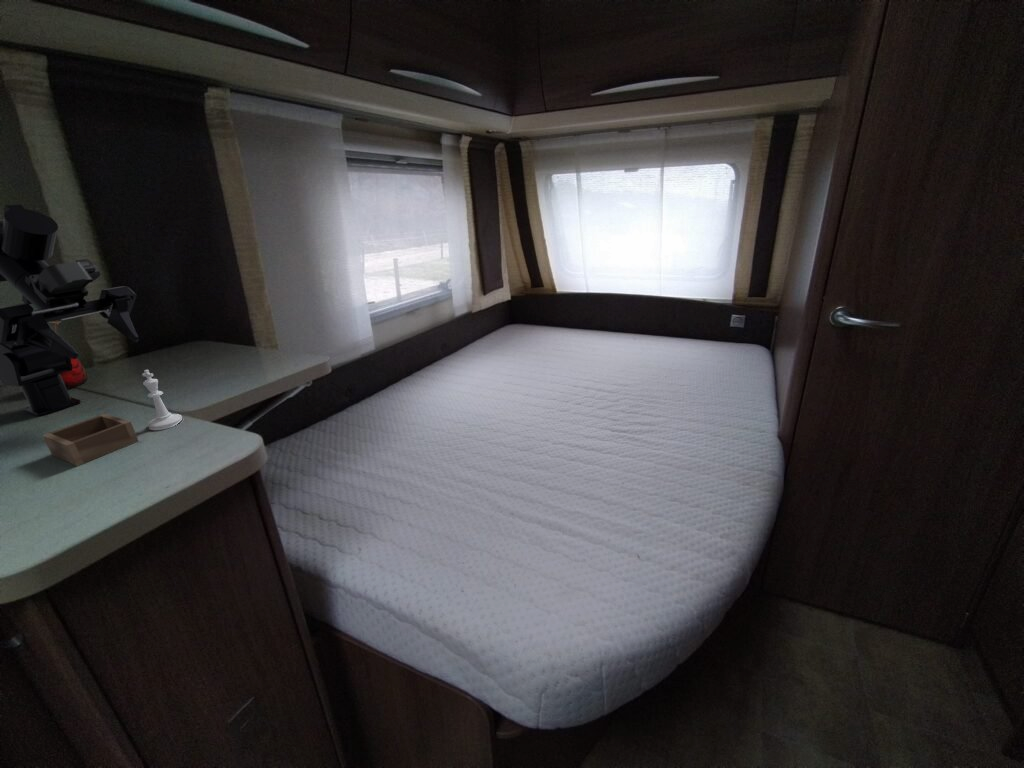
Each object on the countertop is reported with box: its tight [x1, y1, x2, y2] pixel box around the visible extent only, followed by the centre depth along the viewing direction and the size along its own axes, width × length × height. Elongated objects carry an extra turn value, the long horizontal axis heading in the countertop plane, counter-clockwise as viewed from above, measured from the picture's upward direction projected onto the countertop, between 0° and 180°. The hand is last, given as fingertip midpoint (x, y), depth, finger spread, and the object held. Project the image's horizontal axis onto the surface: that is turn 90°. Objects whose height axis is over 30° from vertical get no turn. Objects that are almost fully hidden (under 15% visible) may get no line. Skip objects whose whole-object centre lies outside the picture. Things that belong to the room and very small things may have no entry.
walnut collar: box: [42, 413, 139, 467], centre depth 70 cm, size 8×8×4 cm
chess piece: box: [141, 369, 183, 431], centre depth 76 cm, size 5×5×10 cm
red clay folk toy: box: [48, 320, 88, 389], centre depth 95 cm, size 8×7×15 cm
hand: (108, 348), depth 75 cm, fingers open, 9 cm apart
